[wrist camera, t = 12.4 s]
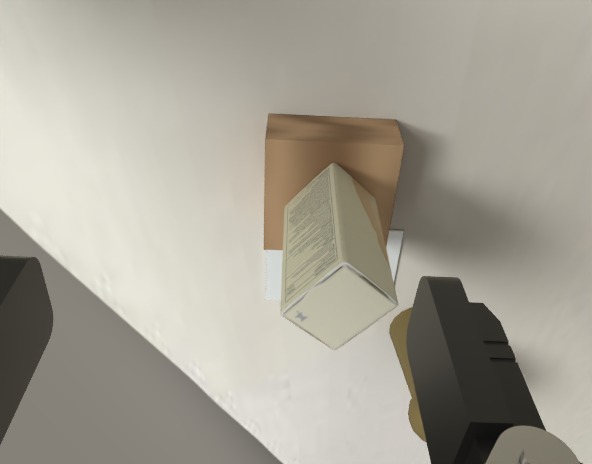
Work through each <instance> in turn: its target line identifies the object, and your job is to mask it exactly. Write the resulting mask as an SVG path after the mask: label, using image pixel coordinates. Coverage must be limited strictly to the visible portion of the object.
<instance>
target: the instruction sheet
mask: <svg viewBox="0 0 592 464" xmlns="http://www.w3.org/2000/svg"><path fill="white" fill-rule="evenodd" d="M403 233H404V231H402V230H389V235H388V241H387V247H386V250H387V254H388V260H389V264H390V269H391V273H392V278H393V282H394V279H395V274H396V269H397V264H398V259H399V253H400V248H401V243H402V238H403ZM282 260H283V250H266V297H265V300H281V287H282Z"/></svg>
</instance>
